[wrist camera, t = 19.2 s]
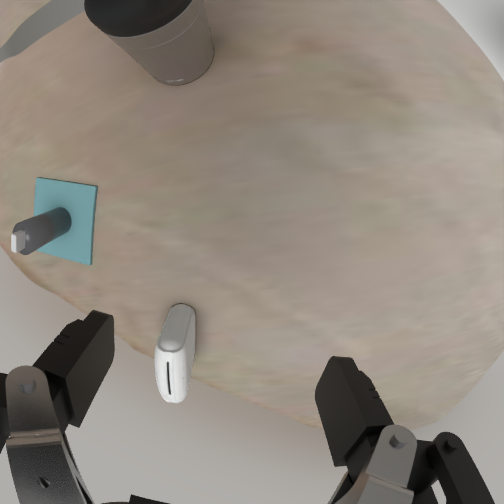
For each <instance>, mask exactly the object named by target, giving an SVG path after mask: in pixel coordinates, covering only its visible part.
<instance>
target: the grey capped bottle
mask: <svg viewBox="0 0 504 504" xmlns="http://www.w3.org/2000/svg"><path fill="white" fill-rule="evenodd" d="M71 223H72V221H71V216H70V214H69V212H68V211H67V210H66V209H65V208H62V207H58V208H55V209H52V210H50V211H47V212H45V213H42V214H39V215H37V216H34V217H32V218H29V219H27V220H24V221H22V222H19V223H17V224H16V225H15V227H14V229H13V233H12V234H11V244H12V252H15V253H17V252H20V253H21V254H23V255H28V254H30V253H32V252H33V251H35V250H37V249H39V248H40V247H42V246H44V245H46V244H47V243H49V242H51V241H53V240H54V239H56V238H58V237H60V236H62V235H63V234H65V233H67V232H68V231H69V230H70V228H71Z"/></svg>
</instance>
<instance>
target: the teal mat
mask: <svg viewBox="0 0 504 504" xmlns="http://www.w3.org/2000/svg"><path fill="white" fill-rule="evenodd" d="M97 188H98V186H93V185H86V184H80V183H74V182H67V181H60V180H53V179H46V178H39V177H38V178H36V187H35V202H34V216H37V215H39V214H42V213H45V212H47V211H50V210H52V209H55V208H58V207H62V208H65V209H66V210H67V211H68V212H69V214H70V216H71V221H72V223H71V228H70V230H69V231H68V232H67V233H65V234H63V235H62V236H60V237H58V238H56V239H54V240H53V241H51V242H49V243H47V244H46V245H44V246H42V247H40V248H39V249H37V250H36V251H40V252H43V253H47V254H50V255H54V256H57V257H61V258H65V259H68V260H72V261H76V262H79V263H83V264H87V265H91V264H92V247H93V230H94V217H95V206H96V197H97Z"/></svg>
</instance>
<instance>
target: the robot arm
mask: <svg viewBox="0 0 504 504" xmlns="http://www.w3.org/2000/svg"><path fill="white" fill-rule="evenodd" d="M84 5H85V11H86V14H87V16H88V18H89V19H90V21H91V22H92V23H93V24H94V25H95V26H97V27H98V28H99V29H100V30H101V31H103V32H104V33H105V34H106V35H107V36H109V37H110V38H111V39H112V40H113V41H114V42H116V43H117V44H118V45H119V46H120V47H121V48H122V49H124V50H125V51H126V52H127V53H128V54H129V55H130V56H131V57H132V58H134V59H135V60H136V61H137V62H138V63H139V64H140V65H141V66H142V67H143V68H144V69H146V70H147V71H148V72H149V73H150V74H151V75H152V76H153V77H154V78H155V79H157V80H158V81H160V82H162V83H164V84H168V85H182V84H187V83H189V82H192V81H194V80H196V79H197V78H199V77H200V76H201V75H203V74H204V73H205V72H206V71H207V69H208V68H209V66H210V65H211V63H212V60H213V56H214V49H213V44H212V39H211V34H210V29H209V24H208V20H207V16H206V12H205V7H204V3H203V0H85V3H84ZM114 348H115V347H114V318H113V316H112V315H109V314H106V313H102V312H99V311H96V310H93V311H91V312H90V314H89V315H88V316H87V317H86V318H85V319H84V321H82V320H79V319H78V320H76V321H74V322H72V323H70V324H68V325H66V327H65V328H64V329H63V330H62V331H61V332H60V335H58V336H57V337H56V338H55V339H54V342H52V343H51V344H50V345H49V346H48V347H47V349H46V350H45V351H44V352H43V354H42V355H41V356H40V357H39V358H38V359H37V361H36V362H35V363H34V364H33V366H20V367H17V368H15V369H13V370H12V371H11V372H10V373H9V374H4V373H0V453H1V451H2V449H3V447H4V445H5V443H6V448H7V454H8V458H9V464H10V468H11V473H12V477H13V481H14V485H15V488H16V492H17V495H18V499H19V502H20V504H94V502H93V500H92V498H91V496H90V494H89V492H88V490H87V488H86V486H85V484H84V481H83V479H82V477H81V475H80V472H79V470H78V467H77V465H76V462H75V459H74V457H73V454H72V451H71V448H70V446H69V443H68V440H67V436H66V434H65V430H66V428H67V426H68V424H71V425H73V426H76V427H78V428H79V427H80V425H81V423H82V421H83V419H84V417H85V415H86V413H87V411H88V409H89V407H90V405H91V402H92V400H93V399H94V396H95V395H96V393H97V391H98V389H99V387H100V385H101V383H102V381H103V379H104V377H105V376H106V374H107V372H108V370H109V368H110V366H111V364H112V361H113V358H114V350H115V349H114ZM379 397H380V396H379V394H378V392H377V391H375V387H374V385H373V383H372V381H371V379H370V378H369V377H367V376H366V375H365V374H364V373H363V372H362V371H359V370H358V368H357V366H356V364H355V362H354V360H353V359H352V358H350V357H337V356H332V357H331V358H330V359H329V361H328V363H327V365H326V367H325V370H324V372H323V374H322V376H321V378H320V380H319V382H318V384H317V387H316V390H315V401H316V404H317V408H318V411H319V414H320V418H321V421H322V425H323V428H324V431H325V435H326V438H327V441H328V445H329V449H330V452H331V456H332V459H333V462H334V466H335V467H337V466H347V468H348V471H347V472H346V473H345V475H344V476H343V478H342V480H341V482H340V483H339V485H338V487H337V489H336V491H335V492H334V494H333V496H332V497H331V499H330V501H329V502H328V504H438V502H437V499H436V497H435V494H434V492H433V489H432V487H431V485H432V484H434V483H435V482H436V481H437V480H439V482H440V484H441V487H442V489H443V491H444V494H445V496H446V504H495V503H494V501H493V499H492V497H491V495H490V492H489V490H488V488H487V486H486V484H485V482H484V480H483V479H482V477H481V475H480V473H479V471H478V469H477V467H476V465H475V463H474V462H473V460H472V458H471V456H470V454H469V452H468V451H467V449H466V447H465V445H464V444H463V442H462V440H461V439H460V438H459V437H458V436H456V435H455V434H452V433H450V432H442V433H440V434H438V435H437V437H436V438H435V439H434V440H433V441H431V442H430V441H422V440H416V438H415V436H414V435H413V433H412V432H411V431H410V430H408V429H407V428H405V427H403V426H400V425H394V423H393V421H392V419H391V417H390V415H389V413H388V411H387V409H386V407H385V406H384V404H383V402H382V400H381V398H379ZM9 436H11V437H10V438H8V437H9ZM102 504H169V503H163V502H159V501H155V500H151V499H146V498H142V497H139V496H135V495H131V497H130V501H129V502H109V503H102Z"/></svg>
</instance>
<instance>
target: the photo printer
mask: <svg viewBox="0 0 504 504" xmlns="http://www.w3.org/2000/svg"><path fill="white" fill-rule="evenodd" d="M194 355H195V312H194V309H192V308H191V307H190V306H188V305H185V304H178V305H175V306H174V307H171V309H170V311H169V313H168V316H167V318H166V321H165V323H164V326H163V328H162V331H161V333H160V336H159V338H158V340H157V344H156V348H155V374H156V382H157V386H158V389H159V392H160V394H161V396H162V397H163V399H164V400H166V401H167V402H174V403H179V402H181V401H182V400H184V399H185V397H186V395H187V392H188V387H189V381H190V376H191V371H192V366H193V360H194Z"/></svg>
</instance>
